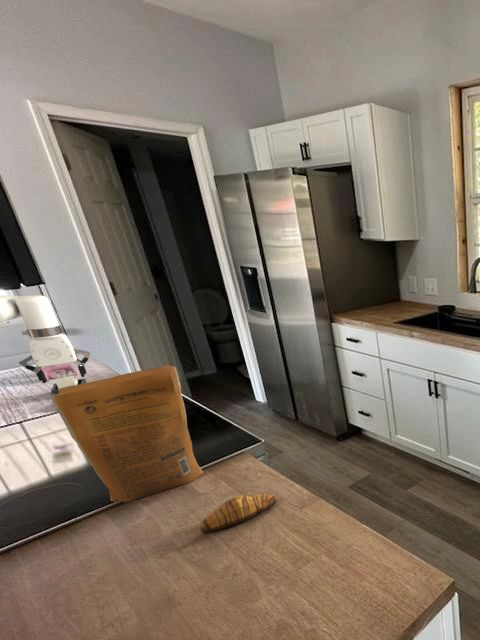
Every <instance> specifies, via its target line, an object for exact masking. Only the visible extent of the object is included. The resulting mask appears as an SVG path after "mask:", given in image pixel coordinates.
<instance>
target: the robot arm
mask: <svg viewBox="0 0 480 640" xmlns="http://www.w3.org/2000/svg"><path fill="white" fill-rule="evenodd" d="M18 318H21V319H22V321H23V323H24V326H25V328H26V330H22V331H21V334H22V336H28V338H27V345H28V350H29V351H30V355H28V356H26V357H25V358H23V359H21V360H19V361H18V364H19V365H20V366H22V367H23V368H25V369H26V370H27V371H31V372H33V373H35V374H36V376H37V379H38V381H39V382H42V384H46V383H47V379H46V377H45V374H44V372H43V371H42V370H41V368H42V367H47V366H55V365H62V364H68V363H70V364H75V365H77V369H78V372H79V374H80V377H81V378H85V376H86V375H87V370H86V367H85V365H86V364H87V362H88V361H89V359H90V356H91V351H88V350H87V351H86V350H82V349H76V348H74V346H73V344H72V342H71V340H70V339H69V337H68V336H67V334H66V333H63V331H62V329H61V327H60V324H59V322H58V319H57V316H56V313H55V311H54V309H53V307H52V304H51V301H50V299H49V298H48V297H47V296H46V295H43V294H40V295H39V294H34V295H32V294H31V295H23V296H21V295H0V323H3V322H7V321H11V320H14V319H18ZM29 336H30V338H29ZM77 354H78V355H83V358H82V359H79V358H78V355H77ZM32 360H33V363H34V365H35V366H34V365H31V364H29V362H30V361H32Z"/></svg>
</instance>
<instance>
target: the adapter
mask: <svg viewBox="0 0 480 640" xmlns="http://www.w3.org/2000/svg"><path fill="white" fill-rule="evenodd" d="M77 380H78V383H79V384H84V383H88V381H87V379H86V378H85V377H83V378H79V379H78V378H77ZM50 389H51V390H50V393H51V395H58V394H60V393H59V390H58V386H57V384H56V382H54V383H53V385H52V387H51V388H50Z"/></svg>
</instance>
